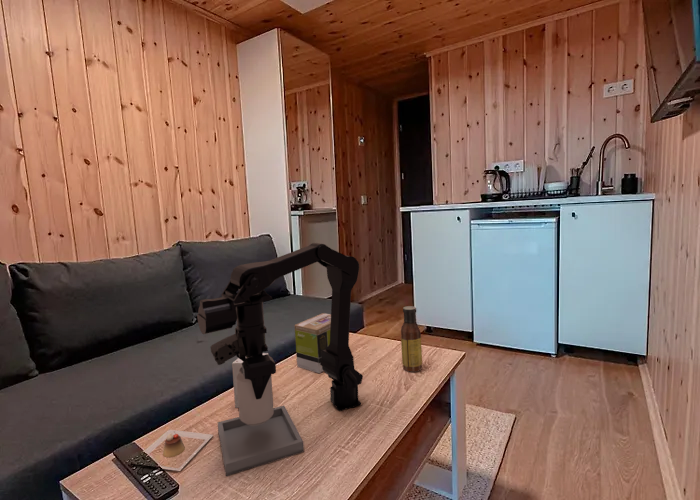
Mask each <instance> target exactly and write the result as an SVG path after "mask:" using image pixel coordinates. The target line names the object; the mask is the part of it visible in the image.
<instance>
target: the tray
mask: <svg viewBox="0 0 700 500" xmlns="http://www.w3.org/2000/svg"><path fill="white" fill-rule="evenodd" d="M273 410H274V413H273V415H272V417H271V418H270V419H269V420H268V421H267V422H265V423H263V424H260V425H255V426H252V425H247V424H245V423H244V422H242V421H241V420H240V417H239V416H237V417H233V418H229V419H225V420H221V421H218V422H217V431H218V432H217V433H218V438H219V444H220V450H221V454H222V460H223V461H222V462H223V467H224V472H225V477H228V476H229V477H230V476H231V475H236V474H238V473H241V472H244V471H247V470H250V469H254V468H257V467H260V466H264V465H267V464H270V463H273V462H276V461H279V460H283V459H286V458H289V457H292V456H295V455H298V454H301V453H304V452H305V451H304V450H305V447H304V439H303V437H302V436H301V434H300V432H299V430H298V428H297V427H296V425H295V423H294V421H293V419H292V417H291V415H290V414H289V412H288V409H287V408H286V405H279V406H275V407H273Z"/></svg>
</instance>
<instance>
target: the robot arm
mask: <svg viewBox="0 0 700 500" xmlns="http://www.w3.org/2000/svg"><path fill="white" fill-rule="evenodd" d="M316 263H317V264H319V265H321V266H322V267H324V268H326V275H327V277H326V278H327V280H328V282H329V285H330V287H331V303H330V304H331V305H330V307H331V309H330V314H331V327H330V344H329V346H328V347H327V349H326V350H322V351H321V363H320V365H321V366H322V369H323V372H324V373H325V374H326V375H327V376H328V378H329V379H332V380H331V386H330V388H329V391H330V398H329V400H330V402H331V403H332V405H333V406H334V407H335V408H336V409H337V411H339V412H342V411H345V410H348V409H352V408H355V407H356V408H357V407H359V406H361V405H362V402H361V401H360V400H359V385H361V384H362V382H363V378H364V375H363V374H362V373H360V372H359V371H358V370H356V369H355V362H354V361H355V360H354V356H353V353H352V350H351V348H350V343H349V342H350V321H351V320H350V319H351V302H352V301H351V299H352V290H353V288H354V287H355V285H356V283H357V281H358V278H359V272H360V262H359V261H358V260H357V258H355V256H350V255H345V254H343V253H341V252H340V251H337V250H335V249H332V248H331V247H329V246H328V245H327V244H324V243H318V242H312V243H310V244H309V245H308V246H307V245H306V246H304V247H302V248H301V247H300V248H299V249H297V250H294V251H291V252H288V253H286V254H283V255H280V256H278V257H275V258H273V259H269V260H266V261H256V262H249V263H245V264H244V263H242V264H239V265H237V266H235V267H234V268H233V269H232V271H231V274H230V277H229V279H230V280H229V282H228V283H227V284H226V287H225V288H224V290H223V291H222V293H221V296H220V297H217V298H215V297H214V298H209V299H208V298H207V299H206V298H205V299H204V298H203V299H200V300H199V307H198V311H197V312H198V313H196V314H197V315H196V316H197V318H196V319H197V323H198V327H199V330H200V333H201V334H202V335H208V334H212V333H216V332H220V331H225V330H229V329H232V328H233V327H234V326H235V328H234V334H231V335H229V336H227V337H225V338H223V339H221V340H219V341H217V342H214V343H213V344H212V345H211V346H210V347H209V349H210V353H211V354H212V356H213V358H214V361H215V362H216V364H217V366H222V365H223V364H225V363H226V362H227V361H229V360H231V359H232V358H234V357H237V359H238V358H239V359H241V360H242V361H243V363H242V371H243V372H242V373H243V375H244V378H245V379H249V380H251V383H252V387H253V390H254V394H255V397H256V399H261V398H262V395H263V393H264V390H265V388H266V385H267V383H268V381H269V379H270V376H271V377H272V375H274V374H276V373H277V368H276V367H277V364H276V362H275V360H274V359H273V357H272V356H270V355H269V353H268V354H266V355H263V353H267V352H268V351H269V349H268V348H269V347H268V345H267V344H266V334H267V333H268V332H267V327H266V326H265V313H264V302H268V301H271V300H273V297H272V296H271V295H269V294H268V293H267V292H266V289H267V288H269V287H270V286H272V284H273V283H274V282H275V281H276V280H277V279H280V278H281V277H283V276H287V275H288V274H291V273H294V272H296V271H298V270H299V271H300V270H301V269H303V268H306V267H309V266H310V265H313V264H316Z"/></svg>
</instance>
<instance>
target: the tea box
mask: <svg viewBox="0 0 700 500" xmlns="http://www.w3.org/2000/svg"><path fill="white" fill-rule="evenodd" d="M330 327H331V313H326V312H322V313H320V314H318V315H314V316H312V317H310V318H308V319H305V320H304V321H303V320H302V321H301V322H298V323H296V324H294V336H295V337H294V338H295V351H296V353H295V354H296V365H297V368H300V369H303V370H306V371H310V372H313V373H315V374H321V373H323V372H324V371H323V369H322V366H321V365H320V363H321V351H322V350H326V349H327V347H328V346H329V344H330Z"/></svg>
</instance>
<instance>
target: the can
mask: <svg viewBox="0 0 700 500" xmlns="http://www.w3.org/2000/svg"><path fill="white" fill-rule="evenodd" d="M242 372H243V371H242V367H241V368H240V369H239V374H238V375H237V390H238V404H239V408H238V414H239V415H238V417H240V420H241V421H242V422H244V423H245V424H247V425H252V426H255V425H260V424H263V423H265V422H267V421H268V420H269V419H270V418H271V417H272V415H273V413H274V410H273V408H274V398H273V397H274V395H273V381H272V377H273V376H272V375H271V376H270V379H269V381H268V383H267V385H266V388H265V390H264V393H263V395H262V398H261V399H256V397H255V394H254V390H253V387H252V383H251V380H249V379H245V378H244V375H243V373H242Z"/></svg>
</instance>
